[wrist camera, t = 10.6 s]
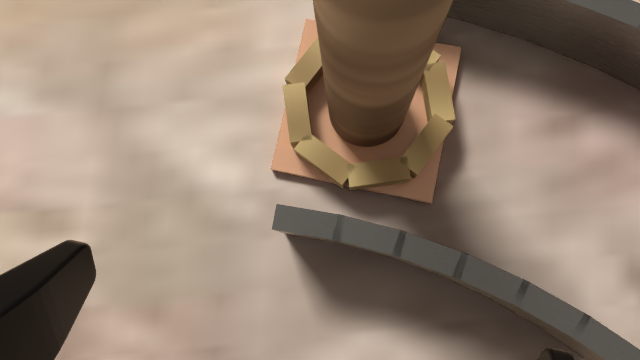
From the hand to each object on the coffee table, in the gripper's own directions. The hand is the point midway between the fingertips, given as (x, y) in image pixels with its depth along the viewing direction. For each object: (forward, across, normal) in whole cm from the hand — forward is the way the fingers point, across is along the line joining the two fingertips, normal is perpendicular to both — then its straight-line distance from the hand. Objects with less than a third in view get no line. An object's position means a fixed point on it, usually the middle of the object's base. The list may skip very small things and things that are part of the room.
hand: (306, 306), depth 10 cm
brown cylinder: (+15, 0, +4) cm, 15 cm away
